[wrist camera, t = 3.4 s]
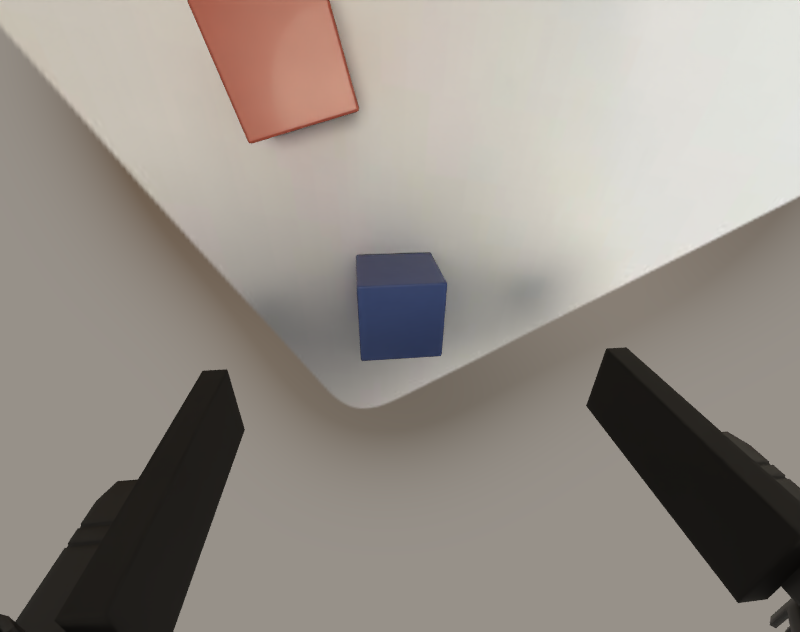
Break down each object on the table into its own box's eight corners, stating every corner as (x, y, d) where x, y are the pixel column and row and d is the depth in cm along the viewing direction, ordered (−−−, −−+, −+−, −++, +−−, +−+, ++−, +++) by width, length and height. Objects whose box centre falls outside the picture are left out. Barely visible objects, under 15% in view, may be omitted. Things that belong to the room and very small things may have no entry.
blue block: (359, 320, 21) (360, 361, 18) (356, 254, 19) (356, 286, 16) (427, 316, 21) (442, 356, 18) (430, 252, 19) (447, 282, 16)
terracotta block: (271, 136, 16) (248, 144, 12) (226, 25, 14) (184, -3, 10) (358, 110, 16) (359, 110, 12) (326, -7, 14) (316, -46, 10)
